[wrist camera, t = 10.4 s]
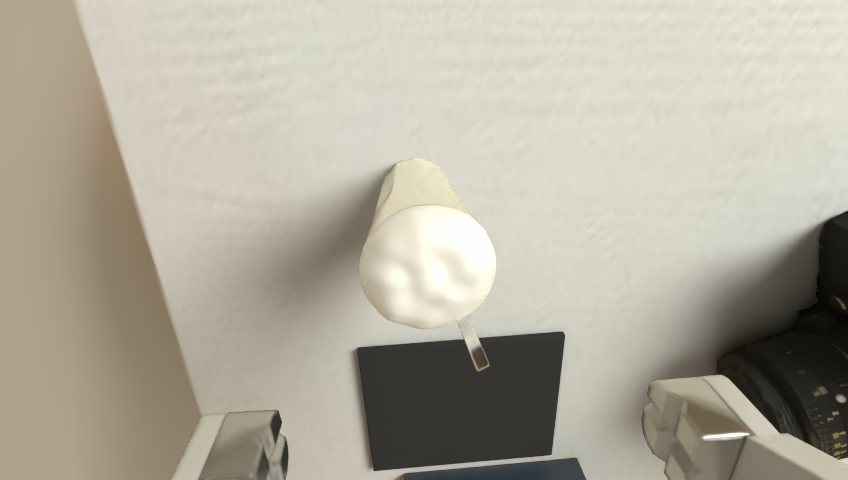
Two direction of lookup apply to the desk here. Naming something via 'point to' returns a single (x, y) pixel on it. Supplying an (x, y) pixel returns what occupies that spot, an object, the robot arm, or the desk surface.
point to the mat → (461, 400)
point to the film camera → (806, 359)
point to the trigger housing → (509, 472)
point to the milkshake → (427, 254)
